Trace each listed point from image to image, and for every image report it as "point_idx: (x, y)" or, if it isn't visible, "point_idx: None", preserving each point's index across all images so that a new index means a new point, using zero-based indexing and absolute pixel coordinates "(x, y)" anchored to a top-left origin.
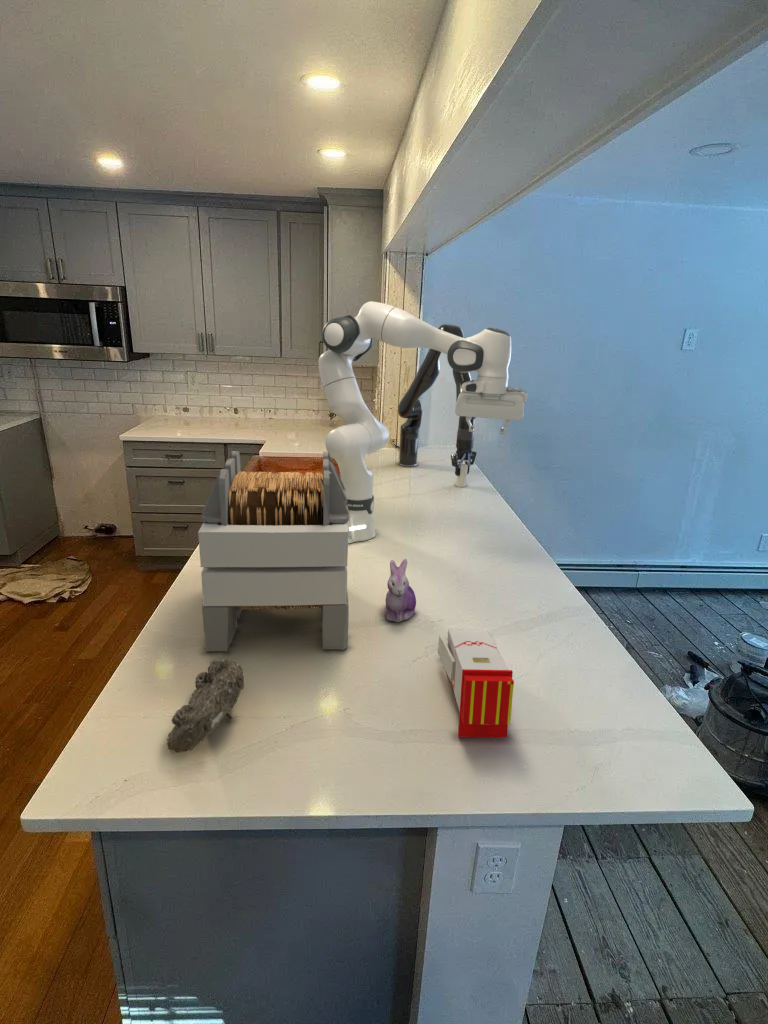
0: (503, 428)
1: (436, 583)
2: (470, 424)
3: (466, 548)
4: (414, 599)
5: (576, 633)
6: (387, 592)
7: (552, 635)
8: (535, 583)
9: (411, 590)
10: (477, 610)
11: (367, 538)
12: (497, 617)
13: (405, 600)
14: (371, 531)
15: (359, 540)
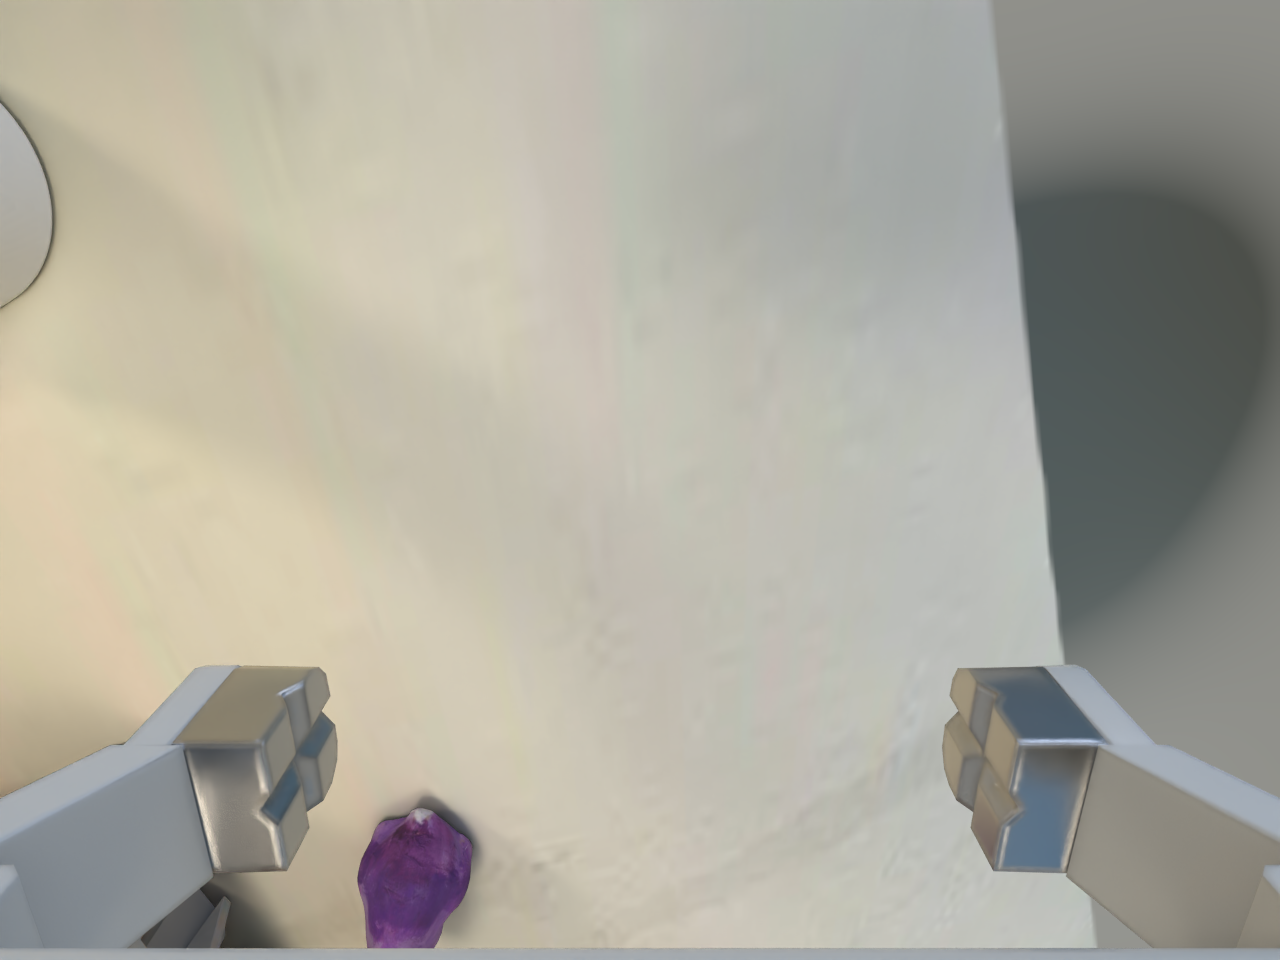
0: (1064, 847)
1: (505, 633)
2: (165, 914)
3: (594, 210)
4: (460, 897)
5: None
6: (358, 884)
7: (909, 852)
8: (919, 527)
9: (438, 903)
10: (676, 777)
11: (32, 269)
12: (743, 800)
13: (435, 944)
14: (13, 229)
15: (5, 301)
